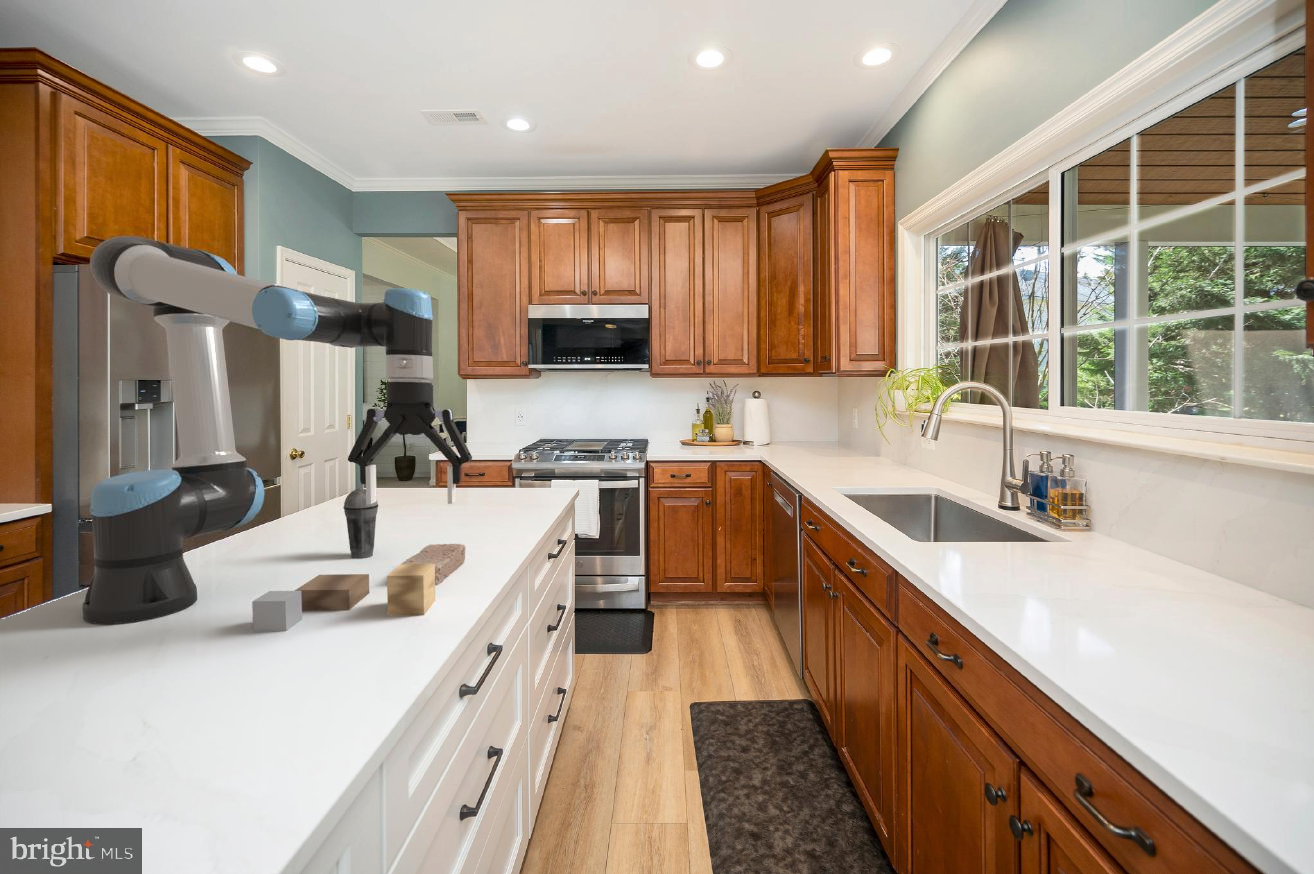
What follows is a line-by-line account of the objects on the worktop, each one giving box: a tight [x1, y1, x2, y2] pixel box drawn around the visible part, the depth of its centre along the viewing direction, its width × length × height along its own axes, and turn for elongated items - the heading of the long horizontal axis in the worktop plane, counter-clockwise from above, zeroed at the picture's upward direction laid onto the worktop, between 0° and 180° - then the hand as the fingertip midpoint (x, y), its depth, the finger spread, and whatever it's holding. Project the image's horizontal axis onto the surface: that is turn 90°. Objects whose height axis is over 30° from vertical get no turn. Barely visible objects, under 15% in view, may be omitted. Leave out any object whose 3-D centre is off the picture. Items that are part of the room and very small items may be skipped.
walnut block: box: [294, 573, 370, 612], centre depth 110 cm, size 9×9×4 cm
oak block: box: [386, 563, 436, 617], centre depth 107 cm, size 6×7×7 cm
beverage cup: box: [343, 484, 379, 559], centre depth 139 cm, size 7×7×20 cm
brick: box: [399, 543, 466, 587], centre depth 128 cm, size 17×8×5 cm, turn 179°
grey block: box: [251, 590, 303, 633], centre depth 98 cm, size 5×5×5 cm
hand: (411, 502), depth 106 cm, fingers open, 13 cm apart
